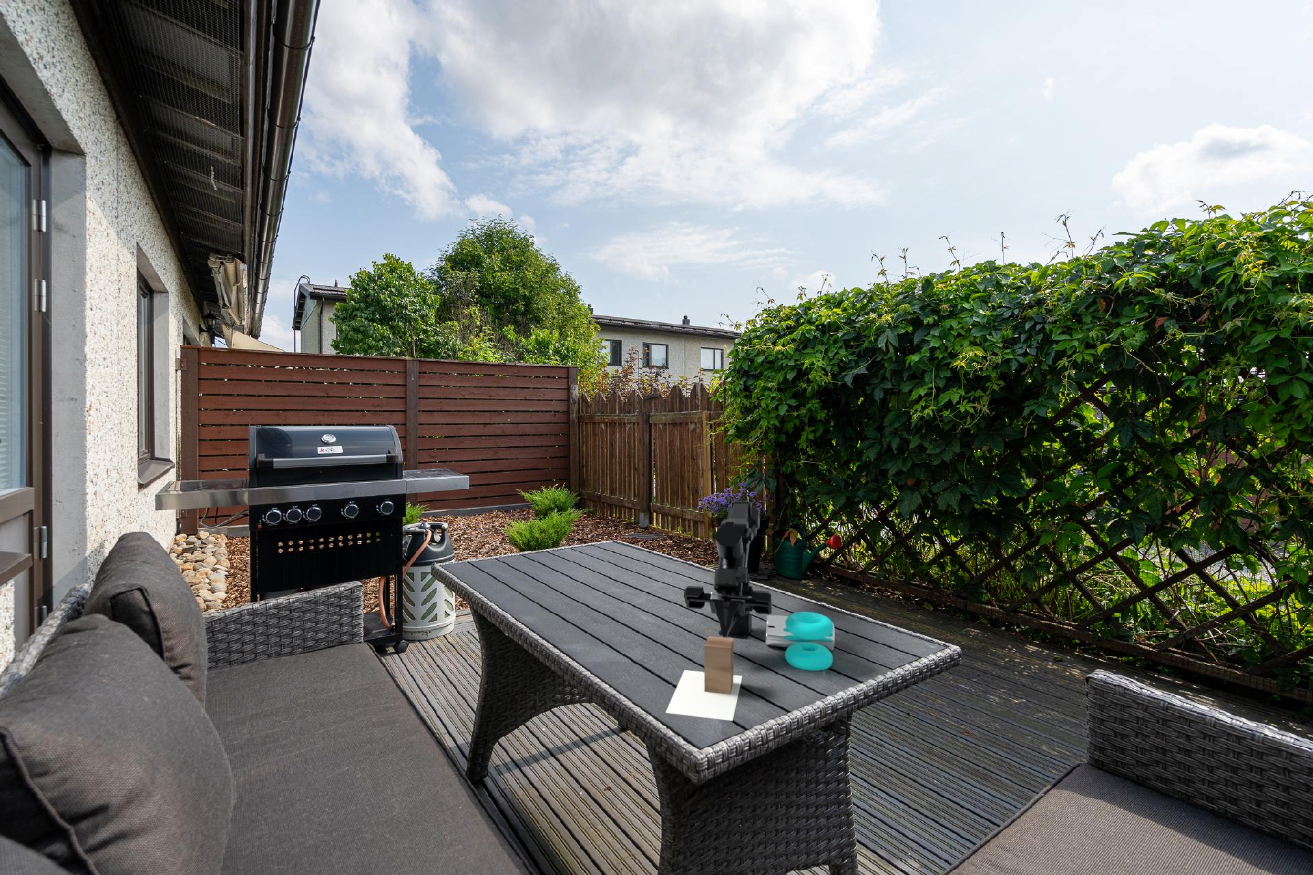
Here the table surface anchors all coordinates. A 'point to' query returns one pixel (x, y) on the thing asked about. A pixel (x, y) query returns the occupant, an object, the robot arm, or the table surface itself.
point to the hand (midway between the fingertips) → (724, 637)
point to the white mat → (703, 698)
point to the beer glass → (784, 638)
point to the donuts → (807, 652)
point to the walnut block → (718, 665)
